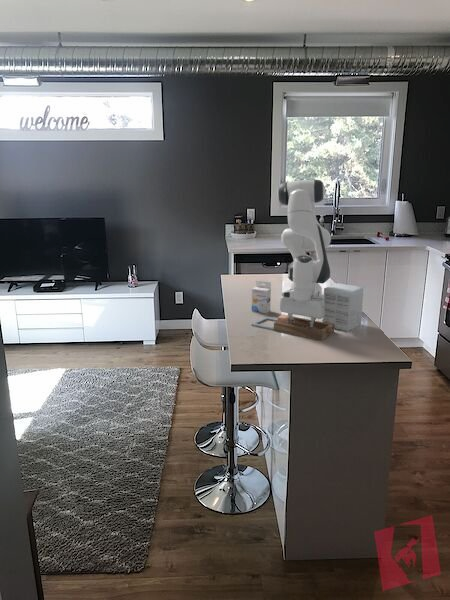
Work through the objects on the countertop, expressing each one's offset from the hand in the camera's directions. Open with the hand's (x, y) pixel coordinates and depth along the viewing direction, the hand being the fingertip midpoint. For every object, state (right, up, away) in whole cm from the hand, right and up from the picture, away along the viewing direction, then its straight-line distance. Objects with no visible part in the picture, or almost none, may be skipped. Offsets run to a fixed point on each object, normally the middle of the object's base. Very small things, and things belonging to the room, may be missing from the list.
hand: (301, 324), depth 210 cm
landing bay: (-13, 0, +10) cm, 16 cm away
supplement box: (+19, -1, +8) cm, 21 cm away
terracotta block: (-7, -1, +5) cm, 9 cm away
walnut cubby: (+1, -3, 0) cm, 3 cm away
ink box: (-15, +5, +31) cm, 35 cm away
